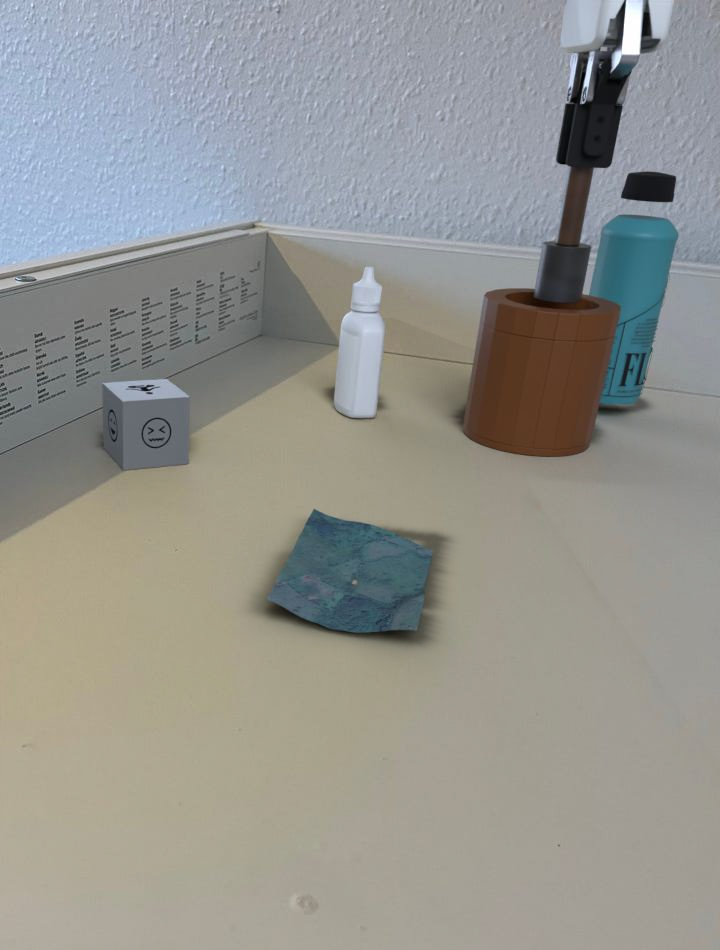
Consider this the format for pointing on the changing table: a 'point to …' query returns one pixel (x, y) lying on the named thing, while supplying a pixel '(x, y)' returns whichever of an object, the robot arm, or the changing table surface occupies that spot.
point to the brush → (567, 244)
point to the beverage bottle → (634, 282)
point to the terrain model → (353, 577)
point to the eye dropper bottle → (360, 351)
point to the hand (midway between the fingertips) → (582, 163)
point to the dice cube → (146, 423)
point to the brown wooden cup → (539, 372)
